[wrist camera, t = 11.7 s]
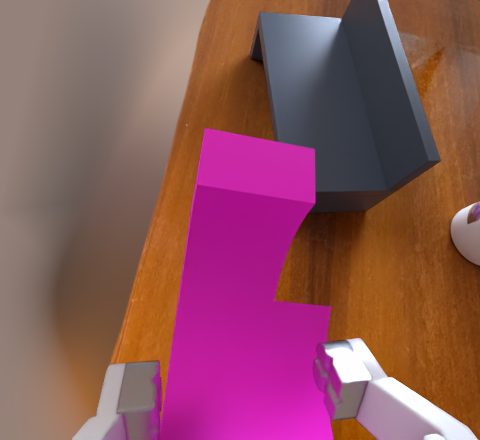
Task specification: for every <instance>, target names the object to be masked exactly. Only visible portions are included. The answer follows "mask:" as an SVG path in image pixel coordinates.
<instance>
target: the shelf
mask: <svg viewBox="0 0 480 440" xmlns="http://www.w3.org/2000/svg"><path fill="white" fill-rule="evenodd" d="M250 54H251V59H261V60H263V63H264V70H265V76H266V83H267V90H268V97H269V104H270V111H271V118H272V124H273V131H274V138H275V142H281V143H286V144H291V145H296V146H301V147H307V148H312V149H315V205H314V206H313V207H312V208H311V210H310V211H309V212H308V213H317V212H349V211H367V210H369V209H370V208H372V207H373V206H375V205H376V204H378V203H379V202H381V201H382V200H384V199H385V198H387V197H388V196H389V195H391V194H393V193H394V192H396V191H397V190H399V189H400V188H402V187H403V186H404V185H406V184H407V183H409V182H410V181H412V180H413V179H415V178H416V177H418V176H419V175H421V174H422V173H424V172H425V171H427V170H428V169H430V168H431V167H433V166H434V165H435V164H437V163H438V162H440V161H441V160H440V157H439V154H438V151H437V148H436V145H435V142H434V139H433V136H432V133H431V130H430V127H429V124H428V121H427V118H426V115H425V112H424V109H423V106H422V103H421V100H420V97H419V94H418V91H417V88H416V85H415V82H414V79H413V76H412V73H411V70H410V67H409V64H408V61H407V58H406V55H405V52H404V49H403V46H402V43H401V40H400V37H399V34H398V31H397V28H396V25H395V22H394V19H393V16H392V13H391V10H390V7H389V5H388V2H387V0H351V1H350V3H349V5H348V7H347V9H346V11H345V13H344V15H343V17H342V19H339V18H327V17H315V16H303V15H292V14H280V13H268V12H259V15H258V20H257V25H256V29H255V34H254V38H253V43H252V47H251V51H250Z"/></svg>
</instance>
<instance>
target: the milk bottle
mask: <svg viewBox="0 0 480 440" xmlns="http://www.w3.org/2000/svg"><path fill="white" fill-rule="evenodd" d="M451 236H452V240H453V242H454V244H455V246H456V248H457V249H458V251H459V252H460V253H461V254H462V255H463V256H464V257H465V258H466V259H467V260H469V261H470V262H472V263H474V264H477V265H479V266H480V201H479V202H477V203H475V204H473V205H470V206H468V207H466V208H464V209H462V210H460V211H459V212H458V213H457V214H456V215H455V217H454V218H453V220H452V223H451Z"/></svg>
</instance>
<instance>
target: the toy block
mask: <svg viewBox="0 0 480 440" xmlns="http://www.w3.org/2000/svg"><path fill="white" fill-rule="evenodd" d="M314 205H315V149H312V148H307V147H301V146H296V145H291V144H286V143H281V142H275V141H270V140H265V139H260V138H254V137H249V136H244V135H239V134H234V133H228V132H223V131H218V130H213V129H207V128H205V130H204V136H203V142H202V148H201V154H200V160H199V165H198V171H197V177H196V183H195V189H194V195H193V201H192V207H191V213H190V220H189V227H188V234H187V241H186V248H185V255H184V262H183V269H182V276H181V283H180V290H179V297H178V305H177V312H176V319H175V326H174V333H173V340H172V347H171V354H170V361H169V368H168V375H167V382H166V389H165V396H164V404H163V411H162V418H161V425H160V440H333V435H332V430H331V424H330V417H329V413H328V411H327V409H326V406H325V404H324V402H323V401H324V397H325V394H324V393H322V392H321V391H320V390H319V389H318V388H317V385H316V383H315V380H314V376H313V361H314V359H315V358H316V357H317V356H318V355H317V353H316V347H317V345H318V343H321V342H327V332H328V324H329V318H330V312H331V307H329V306H319V305H310V304H300V303H290V302H280V301H274V299H275V294H276V289H277V285H278V281H279V277H280V273H281V270H282V267H283V264H284V261H285V258H286V255H287V252H288V250H289V247H290V245H291V242H292V240H293V238H294V236H295V234H296V232H297V230H298V228H299V226H300V225H301V223H302V221H303V220H304V218H305V217H306V215H307V214H308V212H309V211H310V210H311V208H312V207H313V206H314Z"/></svg>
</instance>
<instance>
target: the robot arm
mask: <svg viewBox="0 0 480 440" xmlns="http://www.w3.org/2000/svg"><path fill="white" fill-rule="evenodd" d="M316 353H317V355H318V356H317V357H316V358H315V359H314V361H313V376H314V380H315V383H316V385H317V388H318V389H319V390H320V391H321V392H322V393H324V394H325V397H324V401H323V402H324V404H325V406H326V409H327V411H328V413H329V415H330V418H331V420H332V421H335V420H343V419H352V418H356V420H357V421H358V422H359V423H360V424H362V425H363V426H364V427H365V428H366V429H367V430H368V431H369V432H370V433H371V434H372V435H373V436H374V437H375V438H376V439H377V440H478V439H477V438H476V436H475V435H474V434H473V433H472V431H471V430H470V429H469V428H468V427H467V426H466V425H464V424H463V423H461V422H459V421H458V420H456V419H455V418H453V417H452V416H450V415H449V414H447V413H446V412H444V411H443V410H441V409H440V408H438V407H437V406H435V405H433V404H432V403H430V402H429V401H427V400H426V399H424V398H423V397H421V396H420V395H418V394H417V393H415V392H414V391H412V390H411V389H409V388H407V387H406V386H404V385H403V384H401V383H400V382H398V381H397V380H395V379H394V378H392V377H391V378H388V377H387V376H386V374H385V373H384V371H383V370H382V368H381V367H380V365H379V364H378V363H377V361H376V360H375V358H374V357H373V355H372V354H371V352H370V351H369V349H368V348H367V346H366V345H365V344H364V342H363V341H362V340H361V339H360V338H357V339H348V340H337V341H329V342H321V343H318V345H317V347H316ZM161 405H162V383H161V377H160V361H159V360H157V361H145V362H132V363H122V364H111V365H109V367H108V369H107V372H106V376H105V380H104V384H103V388H102V392H101V396H100V401H99V405H98V409H97V413H96V417H91V418H89V420H88V421H87V422H86V423H85V424H84V425H83V426H82V428H81V429H80V430H79V431H78V432H77V433H76V435H75V436H74V437H73V438H72V439H71V440H160V425H161V424H160V411H161Z"/></svg>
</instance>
